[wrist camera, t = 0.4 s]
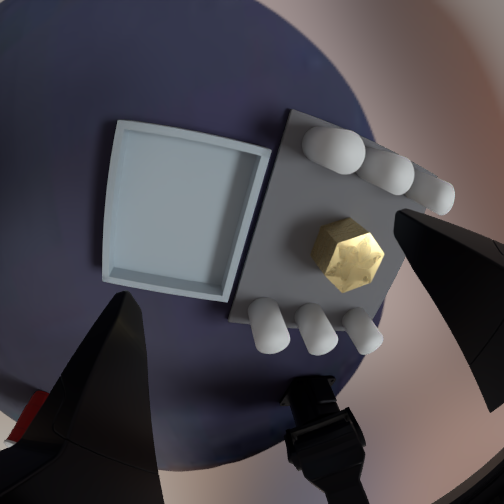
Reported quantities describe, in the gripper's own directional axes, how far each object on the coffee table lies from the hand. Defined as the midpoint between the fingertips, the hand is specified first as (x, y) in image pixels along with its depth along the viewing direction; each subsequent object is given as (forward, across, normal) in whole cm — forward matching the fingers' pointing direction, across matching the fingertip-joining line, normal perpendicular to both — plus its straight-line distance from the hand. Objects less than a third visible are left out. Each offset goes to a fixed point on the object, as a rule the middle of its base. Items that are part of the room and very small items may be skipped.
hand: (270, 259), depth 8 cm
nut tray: (+14, +5, +4) cm, 15 cm away
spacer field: (+12, -8, +11) cm, 18 cm away
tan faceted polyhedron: (+12, -8, +11) cm, 18 cm away
